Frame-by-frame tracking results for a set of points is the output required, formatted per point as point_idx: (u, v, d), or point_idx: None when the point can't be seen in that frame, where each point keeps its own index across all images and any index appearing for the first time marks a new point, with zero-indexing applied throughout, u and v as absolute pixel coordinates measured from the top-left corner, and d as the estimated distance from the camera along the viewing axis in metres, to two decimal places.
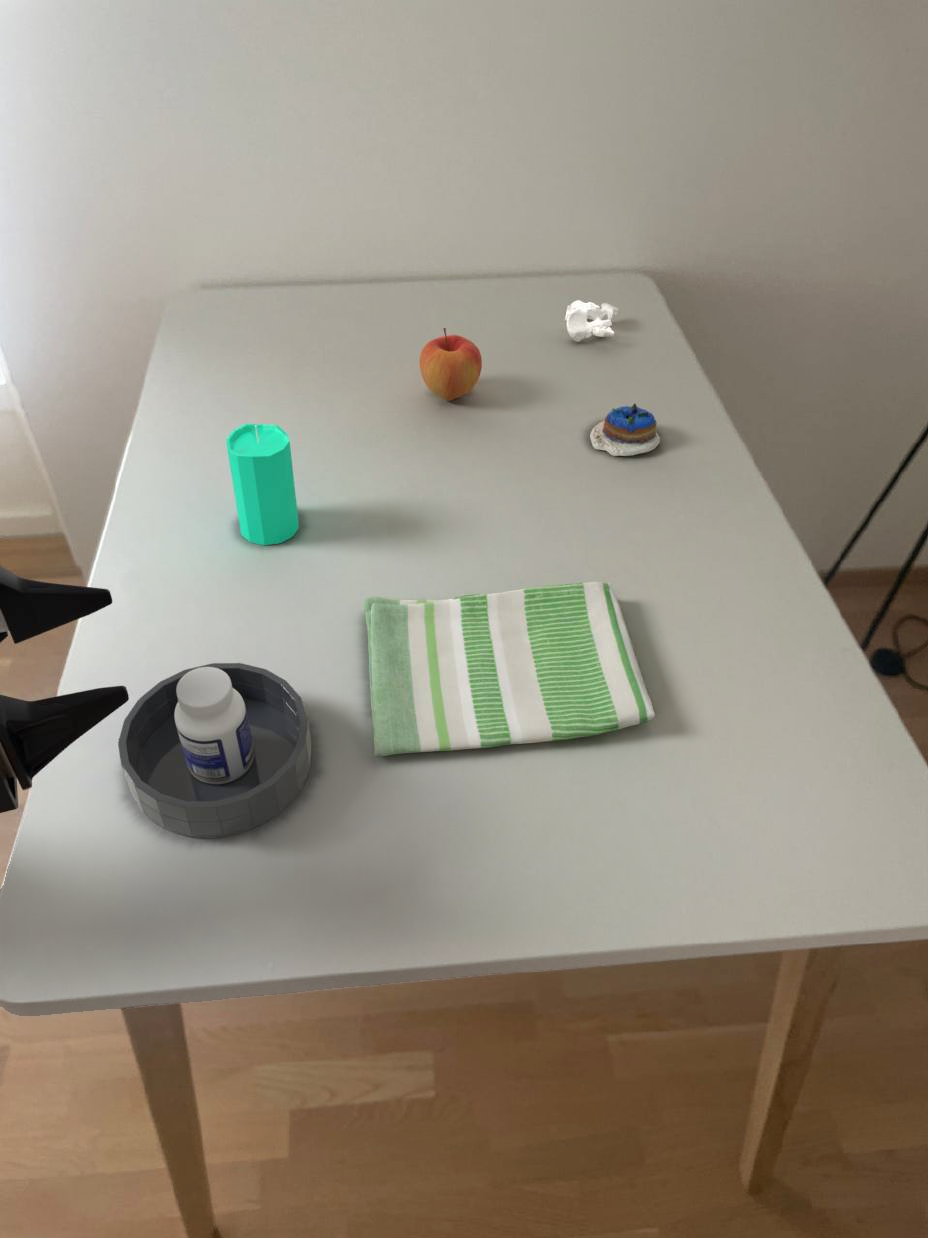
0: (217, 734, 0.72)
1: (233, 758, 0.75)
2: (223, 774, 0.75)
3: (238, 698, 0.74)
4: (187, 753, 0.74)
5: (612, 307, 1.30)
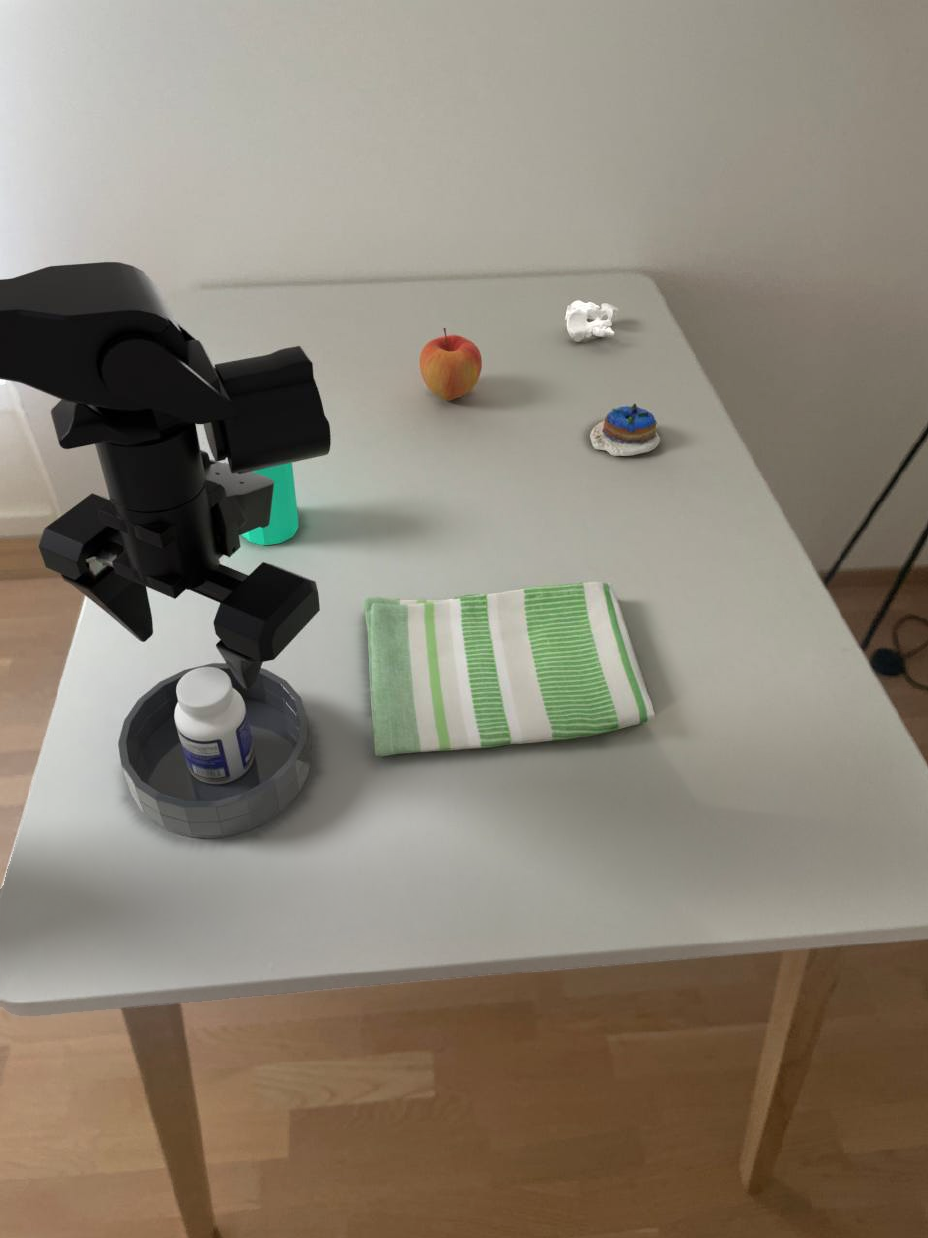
0: (217, 734, 0.72)
1: (233, 758, 0.75)
2: (223, 774, 0.75)
3: (238, 698, 0.74)
4: (187, 753, 0.74)
5: (612, 307, 1.30)
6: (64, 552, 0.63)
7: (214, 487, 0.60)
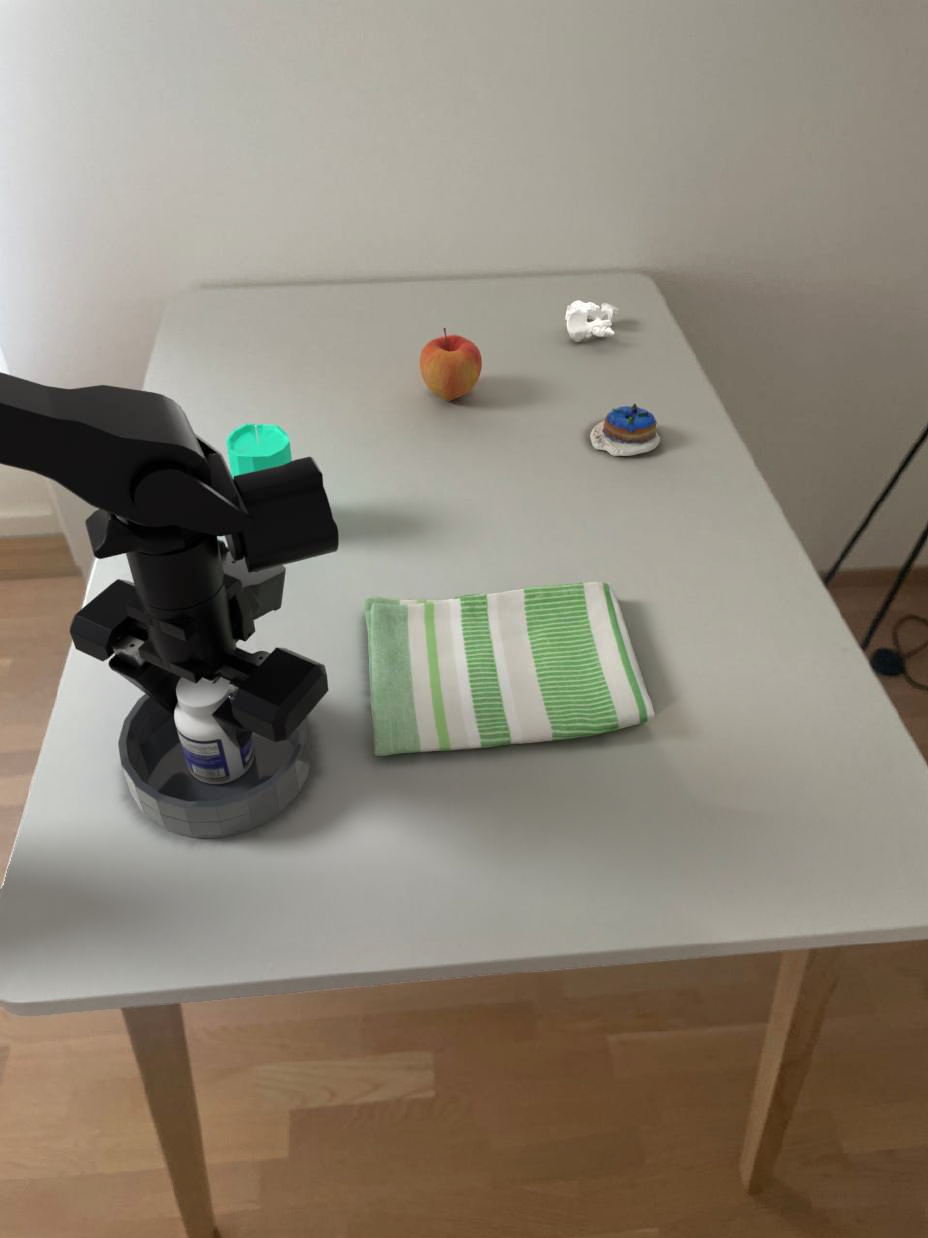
0: (217, 734, 0.72)
1: (232, 758, 0.75)
2: (222, 774, 0.75)
3: None
4: (187, 753, 0.74)
5: (612, 307, 1.30)
6: (93, 637, 0.69)
7: (232, 581, 0.66)
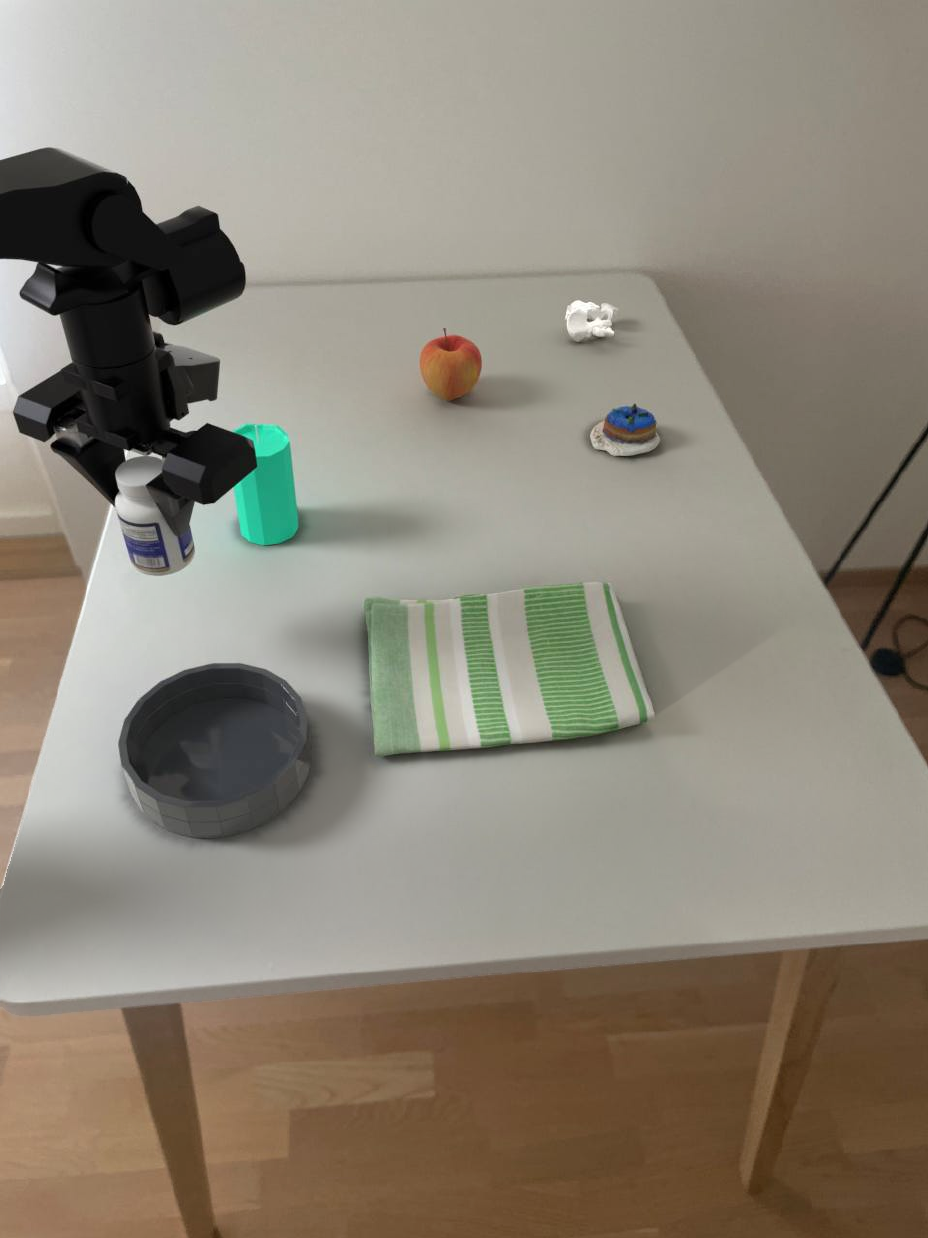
0: (155, 517, 0.76)
1: (171, 547, 0.78)
2: (162, 563, 0.79)
3: None
4: (128, 541, 0.78)
5: (612, 307, 1.30)
6: (35, 416, 0.73)
7: (163, 354, 0.70)
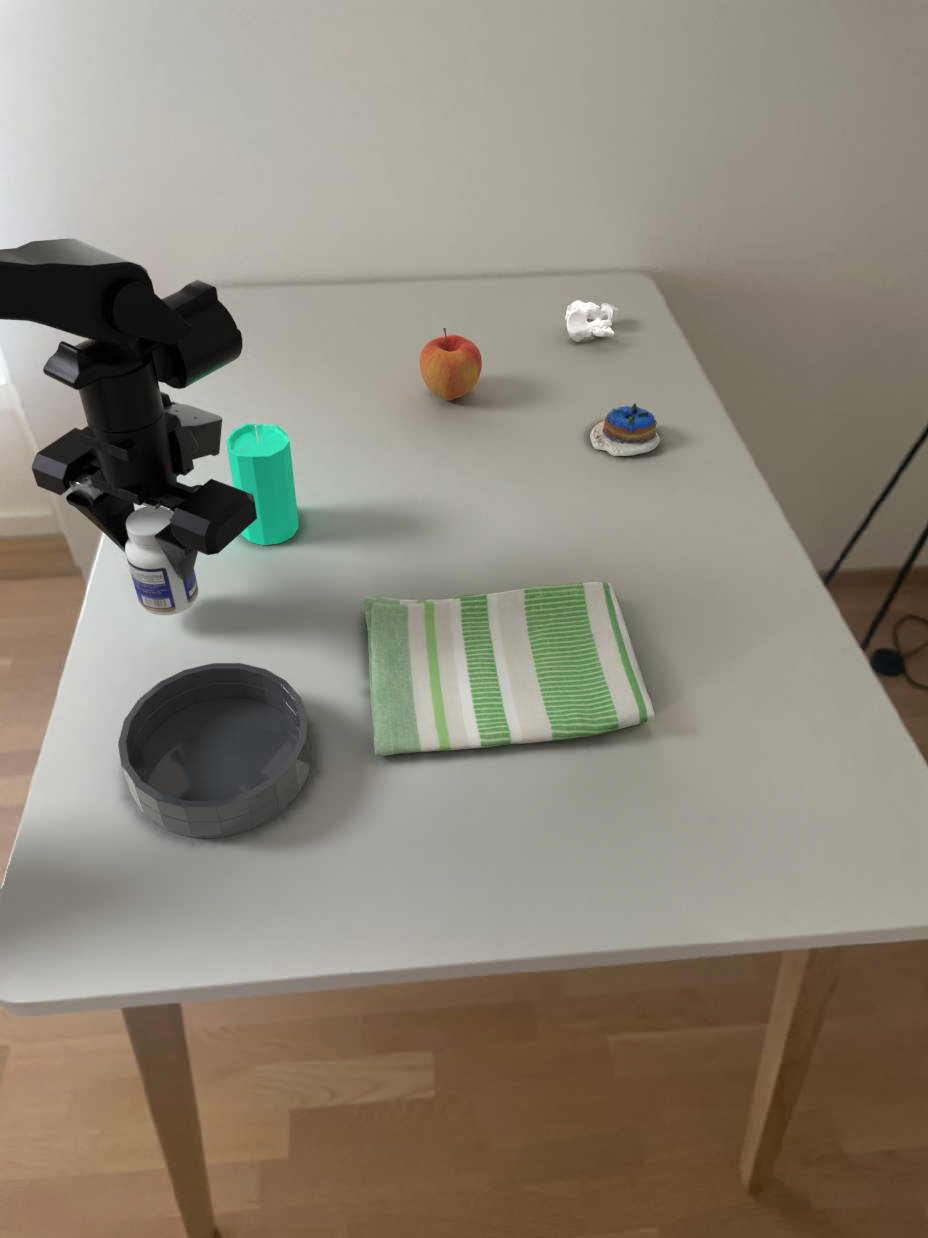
0: (162, 563, 0.82)
1: (177, 589, 0.85)
2: (168, 604, 0.85)
3: None
4: (137, 584, 0.84)
5: (612, 307, 1.30)
6: (52, 472, 0.79)
7: (171, 417, 0.76)
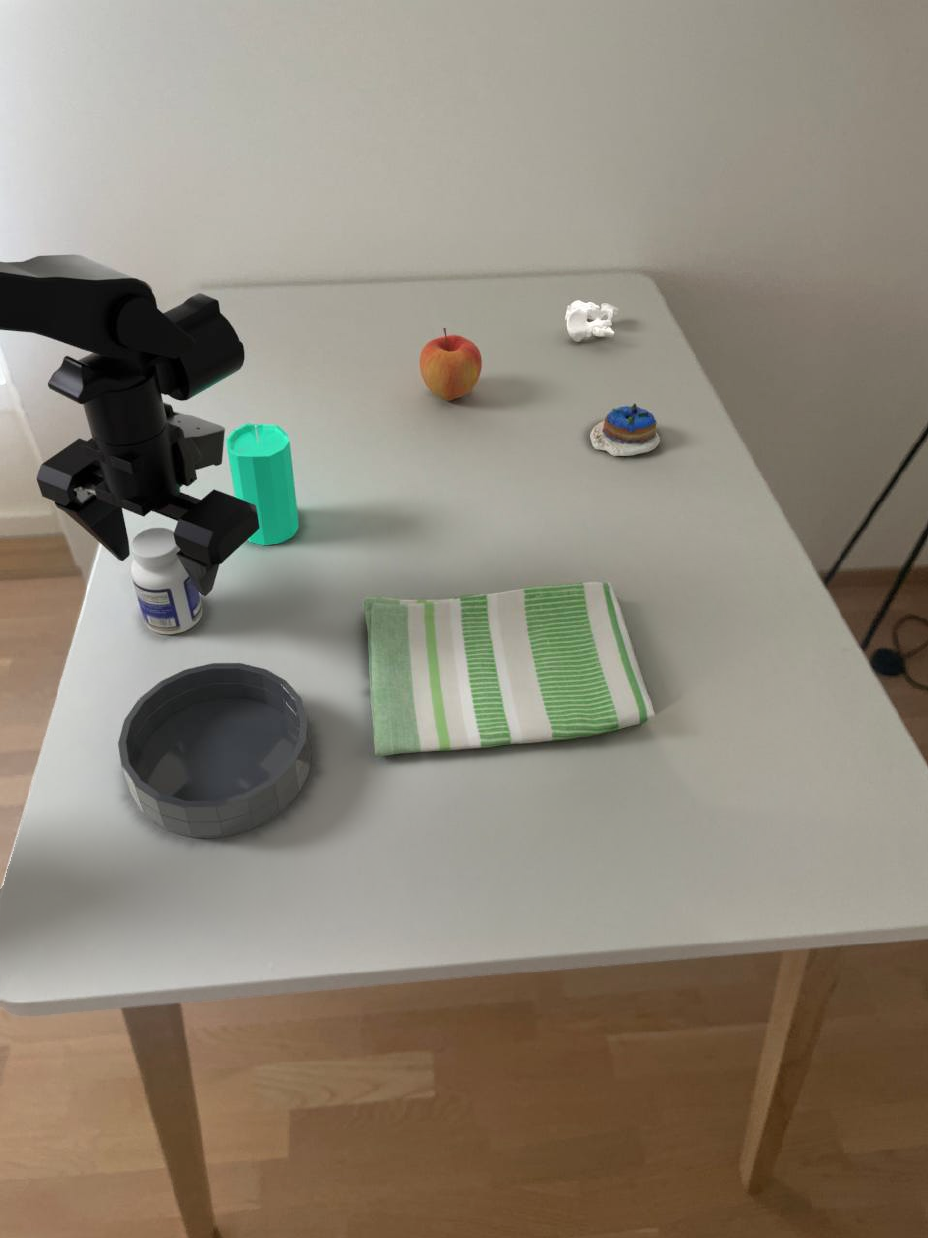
0: (167, 584, 0.84)
1: (182, 609, 0.86)
2: (173, 623, 0.87)
3: None
4: (142, 604, 0.86)
5: (612, 307, 1.30)
6: (57, 482, 0.80)
7: (174, 428, 0.77)
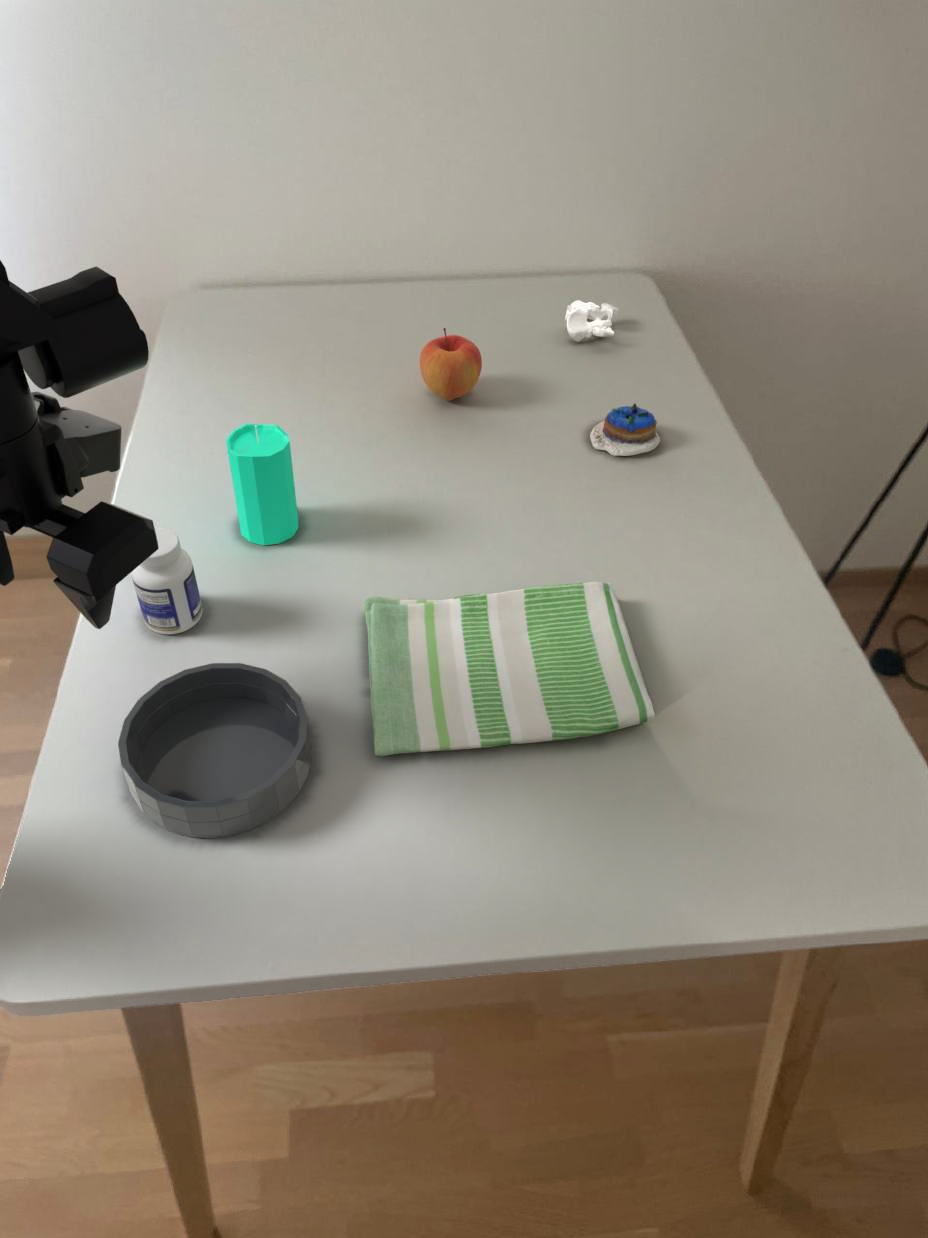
0: (167, 584, 0.84)
1: (182, 609, 0.86)
2: (173, 623, 0.87)
3: (186, 556, 0.86)
4: (142, 604, 0.86)
5: (612, 307, 1.30)
6: None
7: (49, 427, 0.62)
